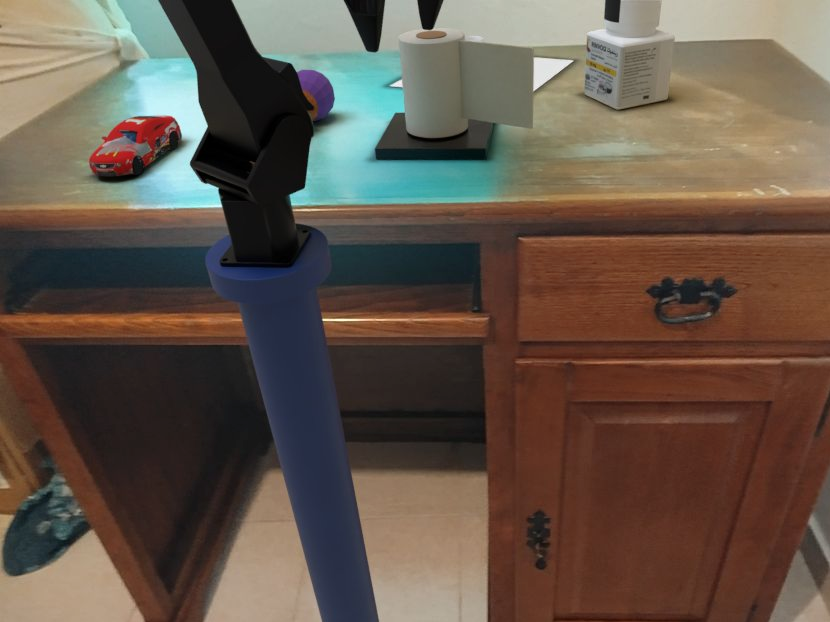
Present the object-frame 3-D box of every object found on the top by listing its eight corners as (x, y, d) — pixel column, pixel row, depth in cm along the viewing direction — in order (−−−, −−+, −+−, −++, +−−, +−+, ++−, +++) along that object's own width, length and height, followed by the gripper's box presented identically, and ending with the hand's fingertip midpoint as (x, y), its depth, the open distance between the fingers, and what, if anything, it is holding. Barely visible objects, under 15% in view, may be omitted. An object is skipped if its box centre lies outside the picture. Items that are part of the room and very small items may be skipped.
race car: (129, 184, 76) (117, 147, 74) (84, 182, 77) (70, 145, 75) (192, 139, 87) (183, 105, 84) (151, 137, 88) (141, 104, 85)
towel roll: (532, 143, 77) (534, 44, 71) (398, 143, 79) (389, 47, 73) (535, 116, 84) (536, 24, 78) (411, 117, 86) (404, 27, 80)
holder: (485, 159, 78) (485, 148, 77) (375, 159, 79) (374, 148, 78) (494, 121, 87) (494, 111, 87) (396, 122, 89) (395, 112, 88)
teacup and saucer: (514, 63, 108) (514, 34, 105) (492, 78, 102) (491, 47, 100) (461, 58, 111) (460, 30, 109) (436, 72, 105) (435, 43, 103)
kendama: (221, 136, 75) (286, 67, 90) (245, 187, 79) (304, 113, 94) (272, 126, 74) (330, 58, 88) (294, 179, 77) (347, 105, 92)
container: (582, 94, 94) (588, -16, 87) (632, 85, 97) (642, -24, 89) (616, 111, 89) (626, -6, 81) (668, 100, 91) (682, -15, 84)
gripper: (371, -164, 69) (387, 14, 78) (228, -157, 56) (268, 56, 65) (474, -169, 64) (478, 22, 73) (343, -162, 51) (369, 68, 60)
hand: (401, 40), depth 68 cm, fingers open, 9 cm apart
